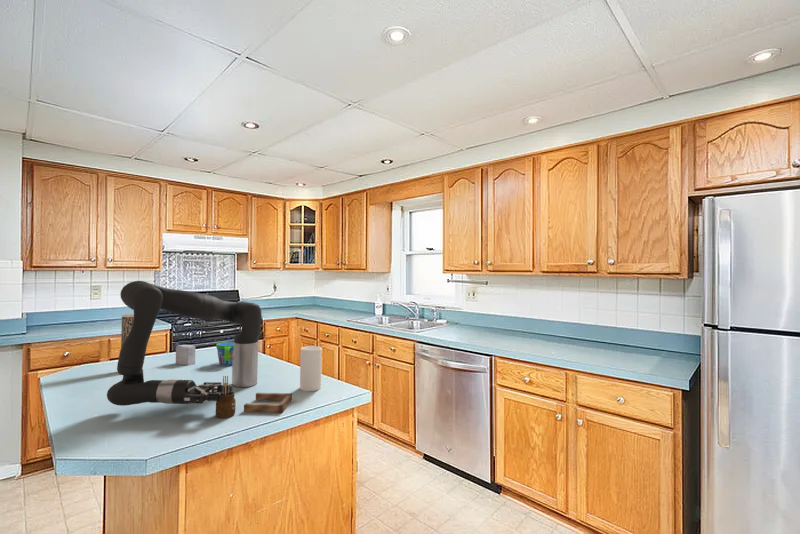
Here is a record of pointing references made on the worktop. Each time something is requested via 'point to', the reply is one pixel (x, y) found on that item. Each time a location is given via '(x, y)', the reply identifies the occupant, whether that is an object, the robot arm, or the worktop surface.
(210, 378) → the worktop surface
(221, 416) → the utensil holder
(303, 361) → the cup
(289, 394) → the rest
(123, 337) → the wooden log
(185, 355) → the medicine box
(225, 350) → the snack cup
